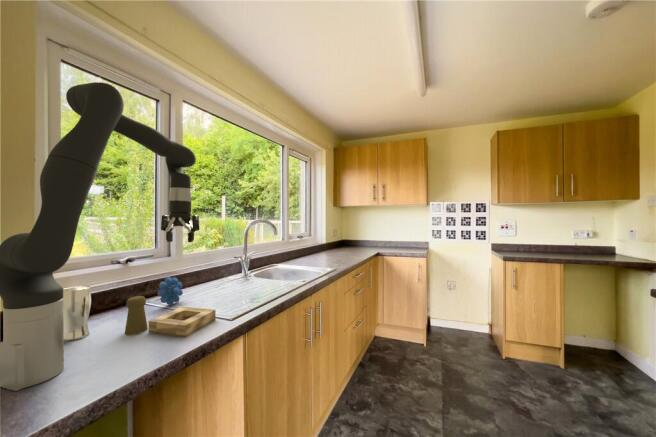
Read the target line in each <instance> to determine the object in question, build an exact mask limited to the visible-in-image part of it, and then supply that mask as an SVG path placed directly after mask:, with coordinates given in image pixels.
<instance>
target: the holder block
mask: <svg viewBox="0 0 656 437" xmlns="http://www.w3.org/2000/svg"><path fill="white" fill-rule="evenodd" d="M214 321H216V309H211V308H202V307H201V308H199V307H192V306H181V307H179V308H176V309H175V310H172V311H169V312H167V313H165V314H163V315H160V316H158V317H156V318H152V319H150V320H148V333H151V334H157V335H159V334H160V335H166V336H173V337H180V338H186V337H188V336H190V335H191V334H194V333H195V332H197V331H199V330H200V329H202V328H204V327H205V326H207V325H209V324H211V323H212V322H214Z"/></svg>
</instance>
